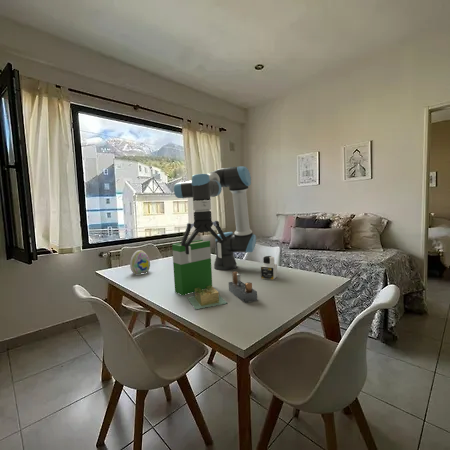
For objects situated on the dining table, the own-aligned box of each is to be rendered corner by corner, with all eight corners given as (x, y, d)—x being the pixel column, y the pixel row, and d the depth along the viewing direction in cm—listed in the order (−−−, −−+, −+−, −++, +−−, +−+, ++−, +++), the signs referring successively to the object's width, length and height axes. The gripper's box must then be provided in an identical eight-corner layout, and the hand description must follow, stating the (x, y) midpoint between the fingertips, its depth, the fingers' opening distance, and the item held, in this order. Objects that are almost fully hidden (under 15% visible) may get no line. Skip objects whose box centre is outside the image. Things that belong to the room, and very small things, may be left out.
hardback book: (204, 283, 137) (201, 239, 135) (212, 286, 132) (210, 240, 130) (175, 291, 126) (172, 244, 124) (182, 295, 120) (179, 245, 118)
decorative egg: (135, 277, 156) (133, 252, 154) (127, 273, 165) (126, 250, 163) (153, 272, 163) (152, 249, 162) (146, 269, 173) (144, 247, 171)
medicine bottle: (261, 278, 141) (260, 257, 140) (265, 275, 148) (264, 254, 146) (273, 280, 138) (273, 258, 137) (277, 276, 144) (276, 255, 143)
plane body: (228, 290, 125) (228, 271, 124) (239, 288, 127) (239, 270, 126) (245, 303, 108) (244, 282, 108) (257, 300, 111) (256, 279, 110)
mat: (187, 298, 117) (187, 297, 116) (216, 293, 122) (216, 292, 122) (195, 310, 104) (195, 309, 104) (227, 303, 109) (227, 302, 109)
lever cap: (194, 297, 116) (194, 286, 115) (211, 294, 119) (211, 283, 118) (201, 305, 106) (200, 293, 106) (219, 302, 109) (218, 290, 109)
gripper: (174, 213, 101) (178, 265, 103) (232, 209, 110) (234, 257, 112) (171, 212, 107) (175, 261, 110) (226, 208, 117) (228, 254, 119)
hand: (205, 259), depth 111 cm, fingers open, 13 cm apart
